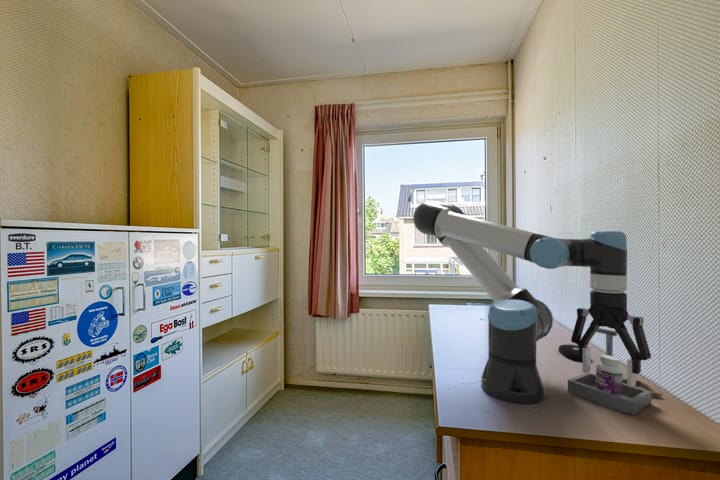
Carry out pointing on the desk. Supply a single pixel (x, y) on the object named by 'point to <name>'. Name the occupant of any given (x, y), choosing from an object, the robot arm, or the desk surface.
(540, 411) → the desk surface
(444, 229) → the robot arm
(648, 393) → the tray
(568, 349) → the computer mouse
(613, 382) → the pill bottle
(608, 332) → the t stake
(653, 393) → the collar
